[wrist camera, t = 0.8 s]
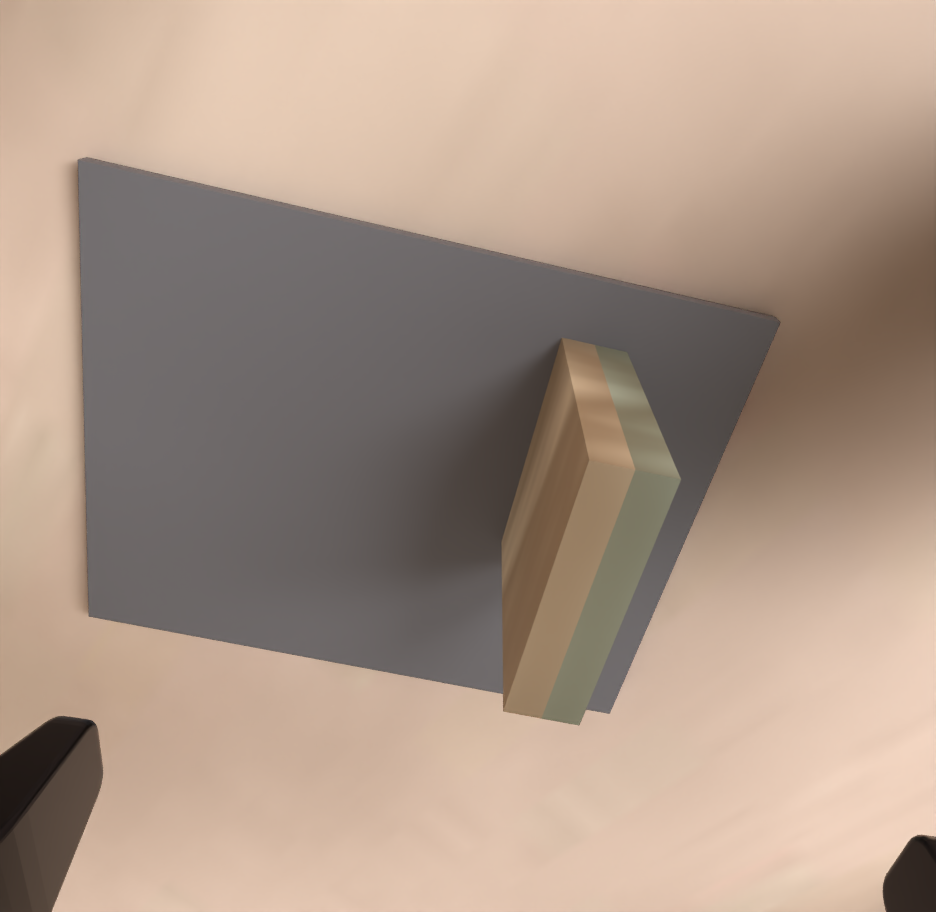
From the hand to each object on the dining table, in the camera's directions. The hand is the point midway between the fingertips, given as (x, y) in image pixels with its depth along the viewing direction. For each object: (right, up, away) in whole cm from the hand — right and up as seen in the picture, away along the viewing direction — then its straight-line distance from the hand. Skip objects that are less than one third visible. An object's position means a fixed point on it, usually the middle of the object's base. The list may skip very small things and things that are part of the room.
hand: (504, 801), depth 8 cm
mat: (-2, +3, +12) cm, 13 cm away
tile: (+2, +4, +11) cm, 12 cm away
